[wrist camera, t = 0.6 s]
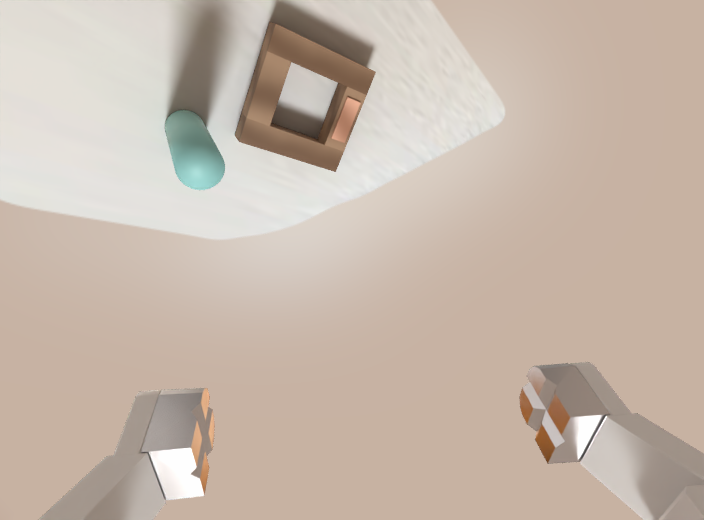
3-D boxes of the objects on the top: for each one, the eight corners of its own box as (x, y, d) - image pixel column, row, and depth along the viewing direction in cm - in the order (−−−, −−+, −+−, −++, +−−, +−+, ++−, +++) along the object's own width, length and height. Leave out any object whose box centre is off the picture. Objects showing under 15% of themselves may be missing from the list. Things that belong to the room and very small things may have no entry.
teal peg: (170, 104, 44) (181, 137, 35) (209, 117, 46) (230, 151, 37) (160, 141, 45) (169, 183, 36) (199, 152, 47) (217, 194, 38)
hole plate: (269, 21, 44) (276, 23, 42) (366, 68, 50) (376, 72, 48) (234, 135, 48) (239, 142, 46) (328, 165, 54) (336, 172, 52)
